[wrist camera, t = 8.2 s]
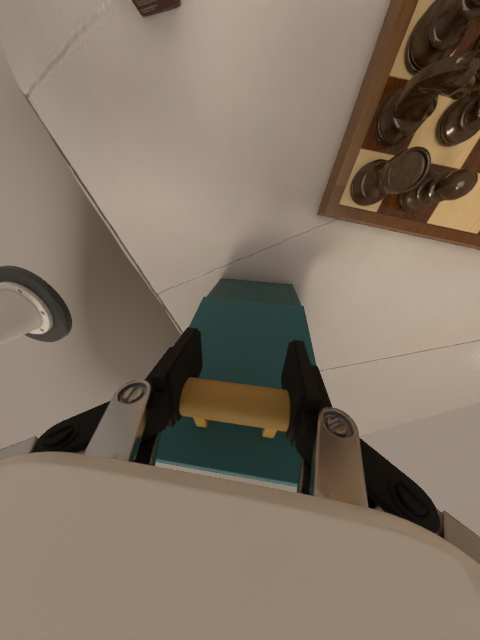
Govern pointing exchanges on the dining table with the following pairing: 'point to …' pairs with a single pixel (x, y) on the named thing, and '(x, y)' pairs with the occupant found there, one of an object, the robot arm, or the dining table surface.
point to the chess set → (416, 128)
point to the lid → (239, 393)
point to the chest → (255, 292)
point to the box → (154, 5)
